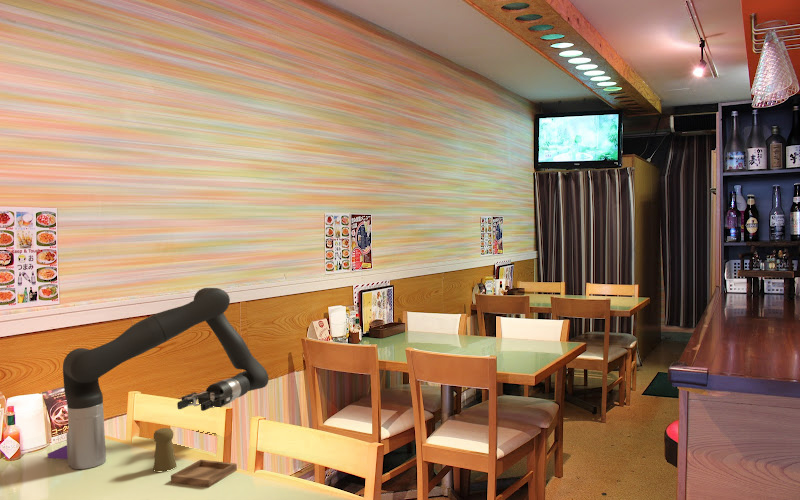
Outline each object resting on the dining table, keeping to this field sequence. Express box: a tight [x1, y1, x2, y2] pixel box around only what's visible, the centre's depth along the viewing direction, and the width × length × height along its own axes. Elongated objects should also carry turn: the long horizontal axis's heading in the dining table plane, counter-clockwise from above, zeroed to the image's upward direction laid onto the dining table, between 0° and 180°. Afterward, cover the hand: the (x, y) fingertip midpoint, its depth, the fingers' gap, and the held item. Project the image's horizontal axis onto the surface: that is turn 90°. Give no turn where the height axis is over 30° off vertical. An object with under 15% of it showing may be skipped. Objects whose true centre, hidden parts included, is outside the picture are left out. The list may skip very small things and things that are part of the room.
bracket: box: [47, 444, 68, 460], centre depth 189 cm, size 12×7×7 cm, turn 75°
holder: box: [170, 459, 238, 488], centre depth 168 cm, size 12×12×2 cm
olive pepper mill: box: [153, 427, 177, 472], centre depth 175 cm, size 6×6×11 cm
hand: (190, 406), depth 185 cm, fingers open, 8 cm apart
